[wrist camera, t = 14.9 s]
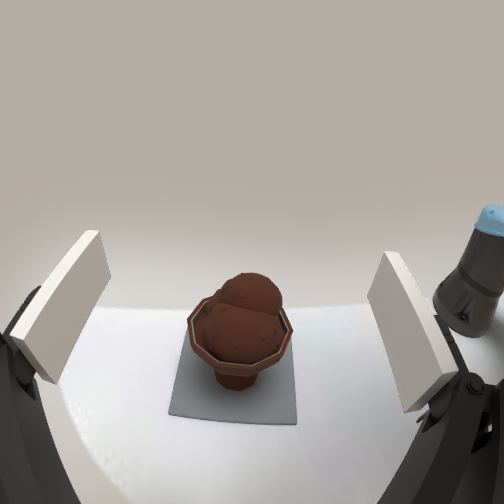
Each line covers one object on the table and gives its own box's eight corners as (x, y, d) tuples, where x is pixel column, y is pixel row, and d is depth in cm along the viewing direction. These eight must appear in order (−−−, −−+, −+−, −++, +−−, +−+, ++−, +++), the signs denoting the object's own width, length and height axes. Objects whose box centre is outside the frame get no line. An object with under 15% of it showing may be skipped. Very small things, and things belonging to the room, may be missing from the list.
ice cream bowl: (200, 336, 39) (195, 247, 31) (279, 345, 39) (300, 257, 31) (185, 402, 30) (167, 319, 22) (279, 412, 30) (308, 335, 22)
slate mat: (290, 337, 41) (290, 334, 41) (296, 424, 29) (297, 422, 29) (187, 329, 41) (187, 326, 40) (169, 414, 29) (168, 412, 29)
